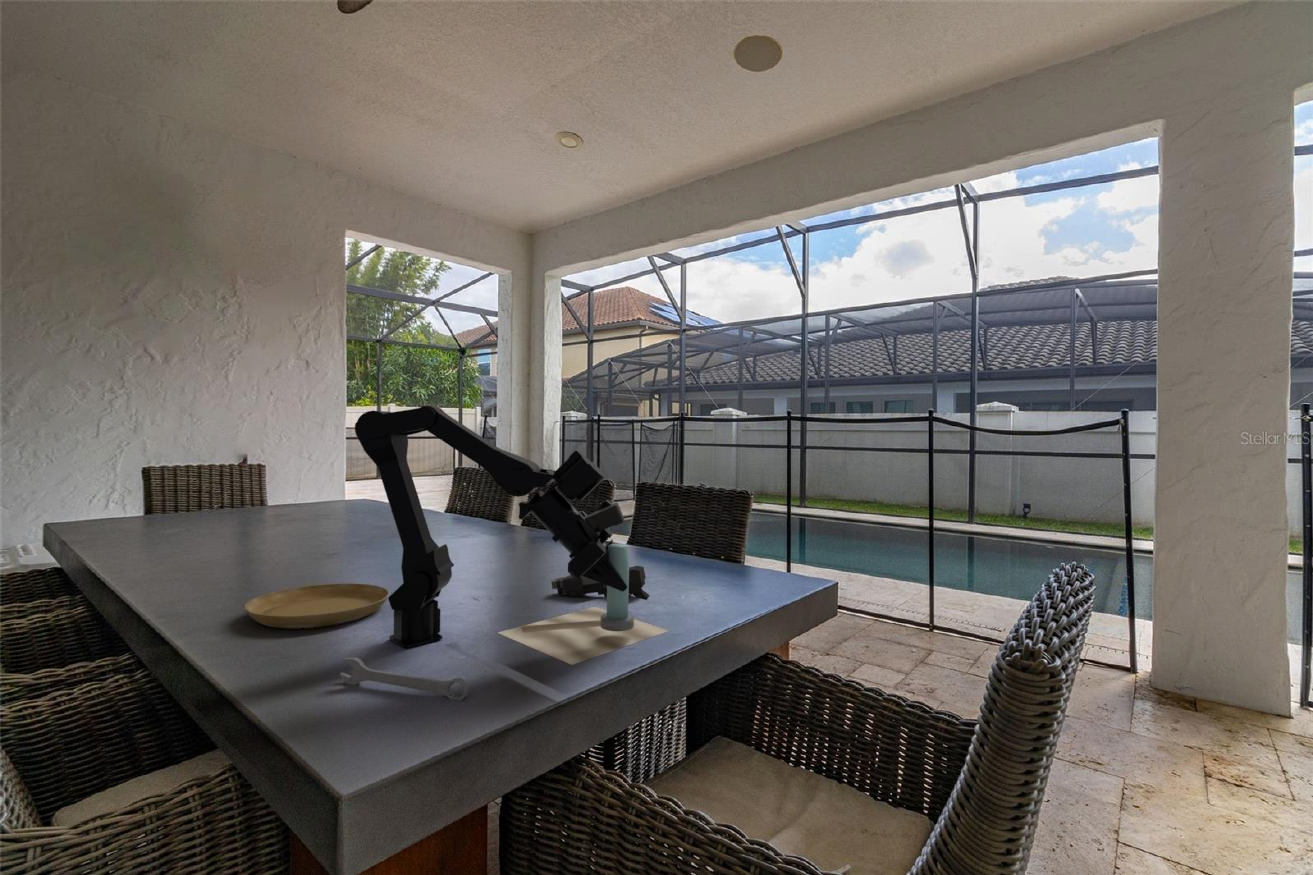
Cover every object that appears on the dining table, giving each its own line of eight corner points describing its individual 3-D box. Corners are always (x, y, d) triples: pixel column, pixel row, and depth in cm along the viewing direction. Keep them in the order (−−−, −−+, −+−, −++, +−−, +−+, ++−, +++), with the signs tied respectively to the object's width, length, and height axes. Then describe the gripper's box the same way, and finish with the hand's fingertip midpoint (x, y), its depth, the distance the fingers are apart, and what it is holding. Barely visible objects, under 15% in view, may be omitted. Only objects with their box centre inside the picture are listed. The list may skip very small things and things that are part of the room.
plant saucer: (339, 591, 132) (339, 576, 132) (415, 608, 121) (415, 591, 121) (216, 621, 111) (216, 603, 111) (295, 644, 100) (295, 624, 100)
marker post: (616, 633, 98) (618, 550, 98) (593, 625, 102) (595, 545, 102) (640, 626, 102) (642, 546, 102) (617, 618, 106) (619, 541, 106)
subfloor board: (571, 671, 90) (571, 664, 90) (497, 638, 103) (497, 632, 103) (670, 636, 106) (670, 630, 106) (594, 611, 119) (594, 606, 119)
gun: (649, 602, 126) (634, 556, 126) (563, 627, 130) (549, 582, 130) (653, 597, 130) (639, 552, 131) (570, 621, 134) (557, 577, 135)
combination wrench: (470, 675, 80) (346, 653, 86) (464, 679, 79) (338, 657, 85) (468, 703, 80) (345, 680, 86) (463, 707, 79) (338, 683, 85)
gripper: (590, 491, 92) (661, 565, 93) (601, 481, 111) (660, 543, 111) (538, 542, 92) (608, 615, 93) (557, 523, 111) (616, 585, 111)
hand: (626, 586), depth 102 cm, fingers closed on marker post, 4 cm apart
